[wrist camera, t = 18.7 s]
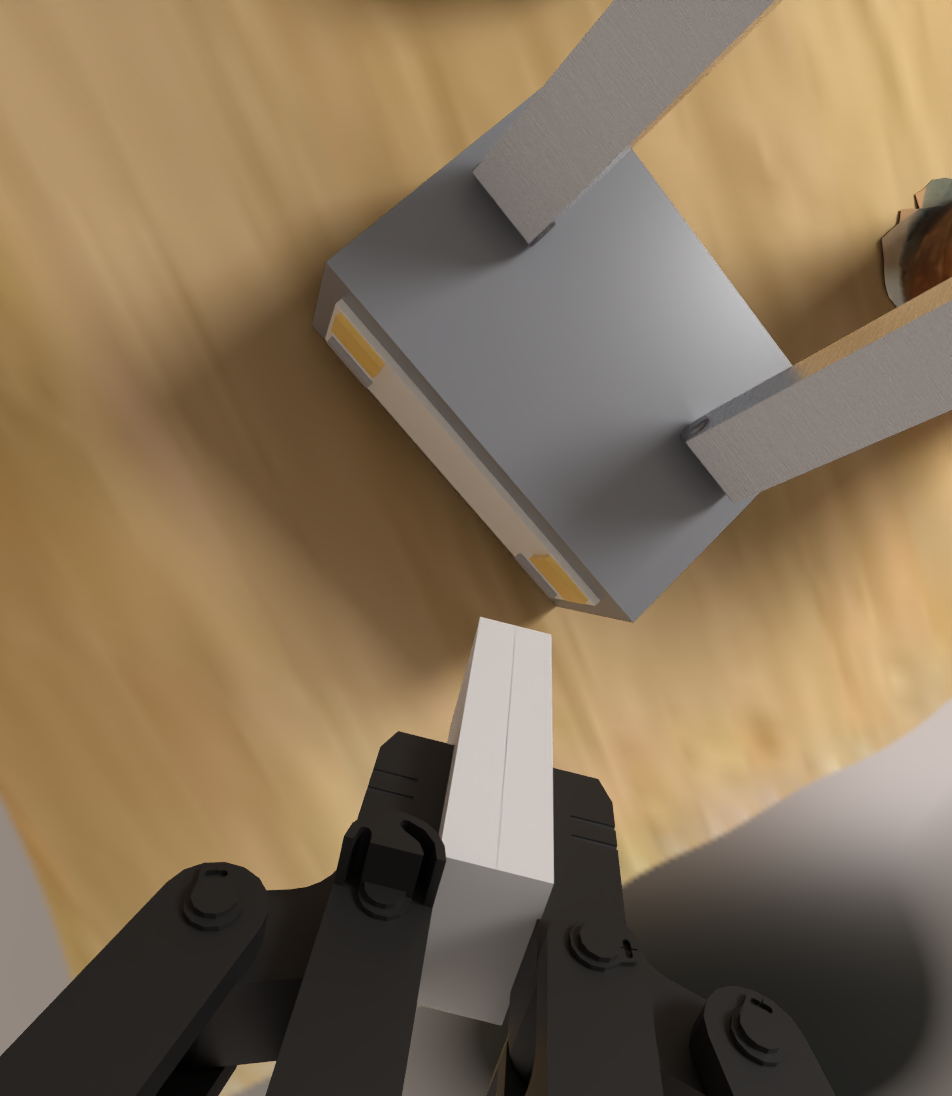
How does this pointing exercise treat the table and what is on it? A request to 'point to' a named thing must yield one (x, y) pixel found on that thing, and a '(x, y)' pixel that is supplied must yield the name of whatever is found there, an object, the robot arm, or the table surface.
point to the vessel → (920, 245)
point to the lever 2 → (833, 400)
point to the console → (555, 370)
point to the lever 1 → (608, 101)
